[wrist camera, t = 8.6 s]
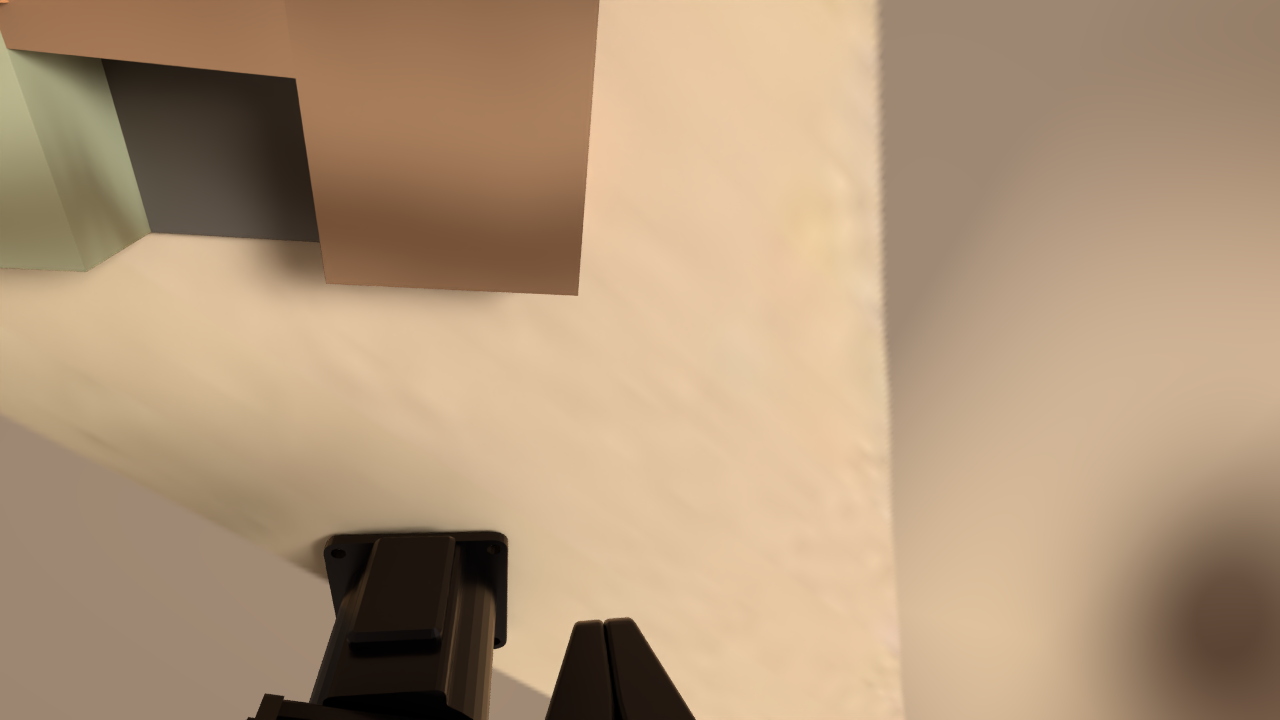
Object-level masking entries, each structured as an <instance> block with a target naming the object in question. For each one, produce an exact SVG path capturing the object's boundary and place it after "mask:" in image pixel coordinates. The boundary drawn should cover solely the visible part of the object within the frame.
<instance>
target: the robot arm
mask: <svg viewBox="0 0 1280 720" xmlns="http://www.w3.org/2000/svg"><path fill="white" fill-rule="evenodd" d="M491 545H498V546H491ZM338 549H342V550H338ZM324 559H325V564H326V569H327V574H328V579H329V584H330V589H331V594H332V599H333V604H334V609H335V615H336V621H335V624H334V627H333V630H332V633H331V636H330V639H329V642H328V646H327V649H326V651H325V655H324V658H323V661H322V664H321V667H320V670H319V673H318V676H317V679H316V682H315V685H314V688H313V692H312V695H311V698H310V701H309V703H306V702H298V701H290V700H283V699H284V696H280V695H272V694H265V695H264V697H263V699H262V702H261V704H260V707H259V709H258V712H257V715H256V717H255V718H250V717H248V719H247V720H488V719H489V705H490V690H491V676H492V661H493V649H497V648H501V647H503V646H504V645H505V644H506V640H507V589H508V539H507V537H506V536H505V535H504V534H501V533H497V532H483V533H435V534H387V535H340V536H334V537H332V538H330V539H329V540H328V541H327V544H326V546H325V549H324ZM545 720H696V719H695V717H694V716H693V714H692V713H691V711H690V709H689V708H688V706H687V705H686V703H685V701H684V700H683V698H682V697H681V695H680V693H679V692H678V690H677V689H676V687H675V685H674V684H673V682H672V681H671V679H670V677H669V676H668V674H667V673H666V671H665V669H664V668H663V666H662V665H661V663H660V661H659V660H658V658H657V657H656V655H655V653H654V652H653V650H652V649H651V647H650V645H649V644H648V642H647V641H646V639H645V637H644V636H643V634H642V633H641V631H640V629H639V628H638V626H637V625H636V623H635V622H634V621H633V620H632V619H631V618H629V617H625V618H613V619H607V620H605V622H604V624H603V622H602V621H600V620H588V621H578V622H576V623H575V625H574V627H573V630H572V633H571V636H570V640H569V643H568V646H567V649H566V653H565V656H564V659H563V662H562V666H561V669H560V672H559V675H558V679H557V682H556V685H555V688H554V691H553V695H552V698H551V701H550V705H549V708H548V711H547V714H546V717H545Z"/></svg>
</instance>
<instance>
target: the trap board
mask: <svg viewBox="0 0 1280 720" xmlns="http://www.w3.org/2000/svg"><path fill="white" fill-rule="evenodd" d="M8 1H9V3H0V268H16V269H36V270H57V271H78V272H87V271H88V270H90V269H92V268H93V267H95V266H97V265H98V264H100V263H101V262H103V261H105V260H106V259H108V258H110V257H111V256H113V255H114V254H116V253H118V252H119V251H121V250H123V249H124V248H126V247H128V246H129V245H131V244H132V243H134V242H136V241H137V240H139V239H141V238H142V237H144V236H145V235H147V234H149V233H150V232H158V233H175V234H192V235H209V236H225V237H242V238H259V239H276V240H293V241H309V242H320V245H321V252H322V259H323V265H324V272H325V279H326V284H347V285H367V286H388V287H409V288H429V289H450V290H471V291H491V292H512V293H533V294H553V295H574V296H578V287H579V273H580V259H581V245H582V232H583V218H584V204H585V191H586V177H587V163H588V149H589V136H590V122H591V108H592V94H593V81H594V67H595V53H596V39H597V26H598V12H599V0H8Z"/></svg>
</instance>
